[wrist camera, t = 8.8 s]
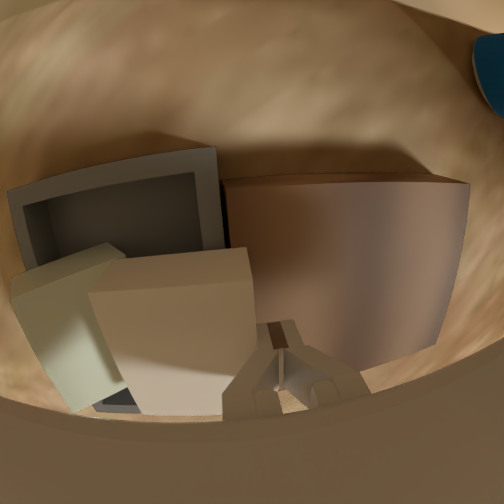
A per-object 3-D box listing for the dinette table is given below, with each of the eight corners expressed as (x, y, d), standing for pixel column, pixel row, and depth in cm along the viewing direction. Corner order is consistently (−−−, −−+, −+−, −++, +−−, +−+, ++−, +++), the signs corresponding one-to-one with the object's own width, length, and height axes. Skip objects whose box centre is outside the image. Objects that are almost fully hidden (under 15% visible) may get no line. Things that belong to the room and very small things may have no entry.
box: (213, 146, 11) (215, 146, 9) (239, 375, 16) (245, 406, 14) (35, 181, 10) (6, 191, 8) (104, 383, 15) (96, 411, 13)
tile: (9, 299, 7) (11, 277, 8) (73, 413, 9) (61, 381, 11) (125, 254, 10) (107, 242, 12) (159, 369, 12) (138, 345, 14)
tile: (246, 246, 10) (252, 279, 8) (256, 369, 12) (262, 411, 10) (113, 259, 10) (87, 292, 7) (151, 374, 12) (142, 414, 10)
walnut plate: (433, 174, 13) (470, 184, 11) (411, 319, 17) (435, 343, 14) (221, 180, 12) (226, 191, 9) (240, 358, 16) (247, 396, 13)
